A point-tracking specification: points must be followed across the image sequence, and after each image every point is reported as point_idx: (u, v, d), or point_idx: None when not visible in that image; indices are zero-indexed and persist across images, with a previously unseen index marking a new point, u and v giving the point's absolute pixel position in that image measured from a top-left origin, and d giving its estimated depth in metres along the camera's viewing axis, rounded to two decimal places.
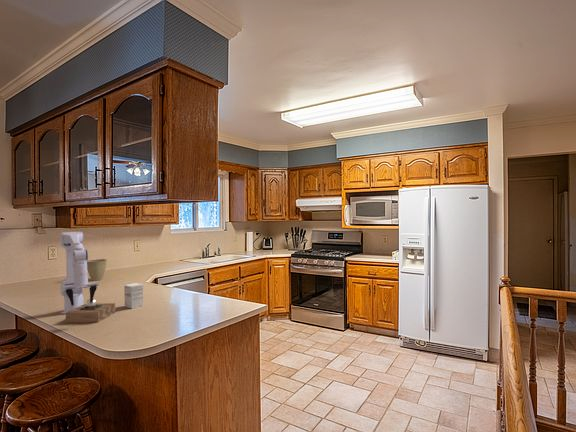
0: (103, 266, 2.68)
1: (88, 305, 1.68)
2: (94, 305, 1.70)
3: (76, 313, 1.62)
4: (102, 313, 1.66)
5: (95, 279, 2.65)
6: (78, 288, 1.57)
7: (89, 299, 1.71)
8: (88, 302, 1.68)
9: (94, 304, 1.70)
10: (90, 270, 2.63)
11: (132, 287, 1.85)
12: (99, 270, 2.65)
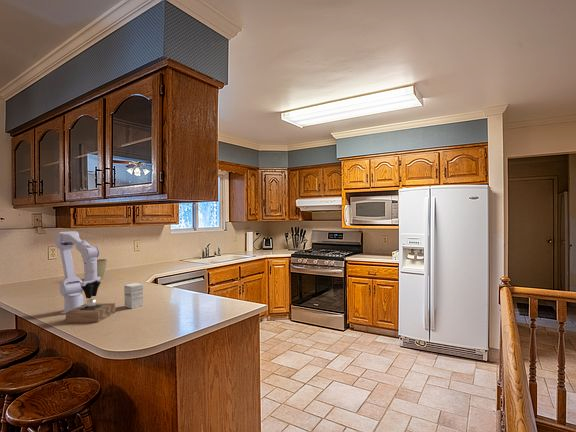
0: (103, 266, 2.68)
1: (88, 305, 1.68)
2: (94, 305, 1.70)
3: (76, 313, 1.62)
4: (102, 313, 1.66)
5: None
6: (90, 283, 1.69)
7: (89, 299, 1.71)
8: (88, 302, 1.68)
9: (94, 304, 1.70)
10: None
11: (132, 287, 1.85)
12: (99, 270, 2.65)
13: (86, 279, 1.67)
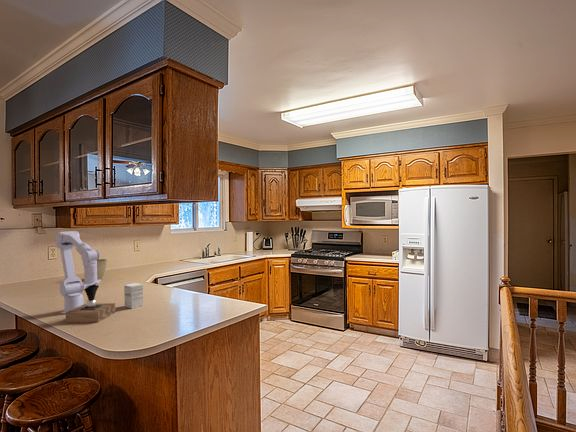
0: (103, 266, 2.68)
1: (88, 305, 1.68)
2: (94, 305, 1.70)
3: (76, 313, 1.62)
4: (102, 313, 1.66)
5: None
6: None
7: None
8: (88, 302, 1.68)
9: (94, 304, 1.70)
10: None
11: (132, 287, 1.85)
12: (99, 270, 2.65)
13: (86, 282, 1.67)
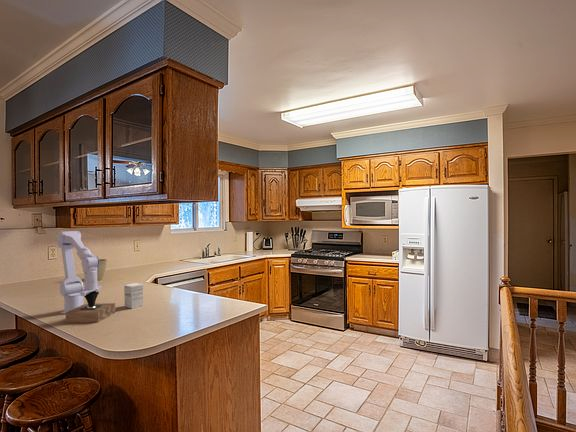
0: (103, 266, 2.68)
1: None
2: None
3: (76, 313, 1.62)
4: (102, 313, 1.66)
5: None
6: None
7: None
8: None
9: None
10: None
11: (132, 287, 1.85)
12: (99, 270, 2.65)
13: (86, 289, 1.67)
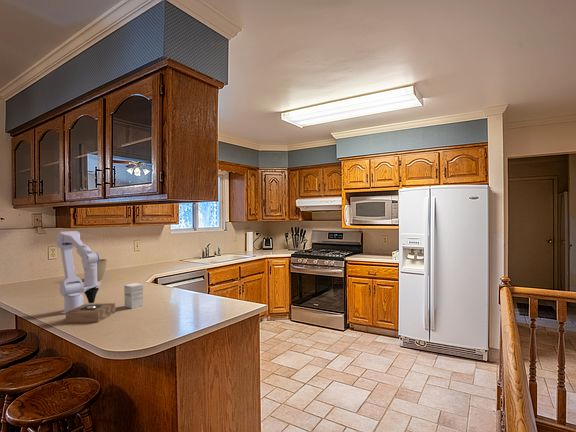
0: (103, 266, 2.68)
1: None
2: None
3: (76, 313, 1.62)
4: (102, 313, 1.66)
5: None
6: None
7: (89, 306, 1.71)
8: None
9: None
10: None
11: (132, 287, 1.85)
12: (99, 270, 2.65)
13: (86, 285, 1.67)
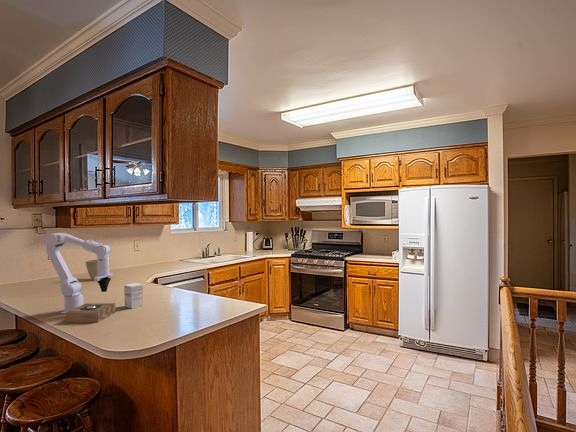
0: None
1: None
2: None
3: (76, 313, 1.62)
4: (102, 313, 1.66)
5: None
6: None
7: (89, 306, 1.71)
8: None
9: None
10: (90, 270, 2.63)
11: (132, 287, 1.85)
12: None
13: (99, 275, 1.79)
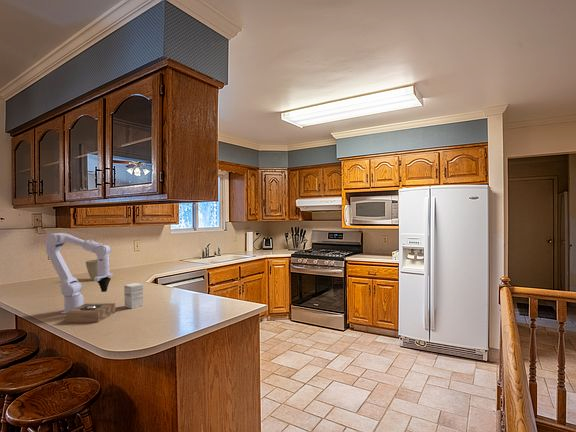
0: None
1: None
2: None
3: (76, 313, 1.62)
4: (102, 313, 1.66)
5: None
6: None
7: (89, 306, 1.71)
8: None
9: None
10: (90, 270, 2.63)
11: (132, 287, 1.85)
12: None
13: (99, 275, 1.79)
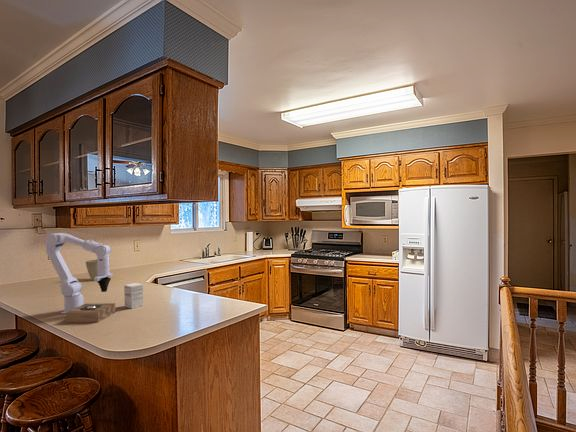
0: None
1: None
2: None
3: (76, 313, 1.62)
4: (102, 313, 1.66)
5: None
6: None
7: (89, 306, 1.71)
8: None
9: None
10: (90, 270, 2.63)
11: (132, 287, 1.85)
12: None
13: (99, 275, 1.79)
